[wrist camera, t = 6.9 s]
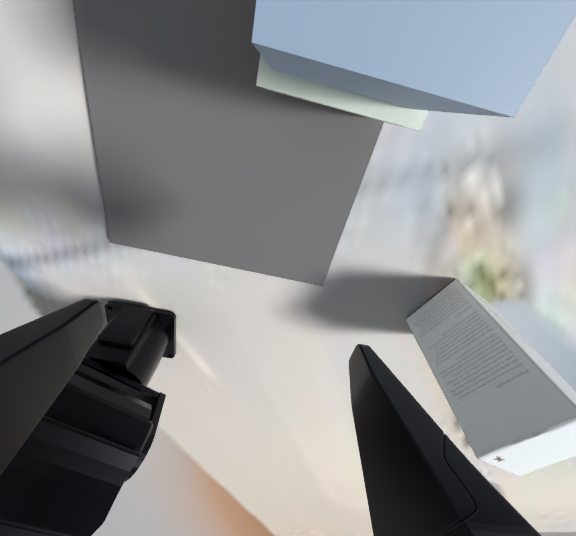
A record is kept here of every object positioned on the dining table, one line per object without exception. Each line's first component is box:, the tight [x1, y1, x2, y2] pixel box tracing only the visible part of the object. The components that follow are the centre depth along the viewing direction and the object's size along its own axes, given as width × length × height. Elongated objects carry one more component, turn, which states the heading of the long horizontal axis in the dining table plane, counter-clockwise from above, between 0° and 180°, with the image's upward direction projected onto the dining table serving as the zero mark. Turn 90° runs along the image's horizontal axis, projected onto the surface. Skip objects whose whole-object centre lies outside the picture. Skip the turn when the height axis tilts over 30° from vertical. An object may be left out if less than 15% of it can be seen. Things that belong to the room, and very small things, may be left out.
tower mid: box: [256, 54, 429, 131], centre depth 9 cm, size 6×6×4 cm
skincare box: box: [406, 279, 576, 476], centre depth 20 cm, size 6×4×12 cm
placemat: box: [73, 0, 384, 286], centre depth 16 cm, size 24×18×1 cm
